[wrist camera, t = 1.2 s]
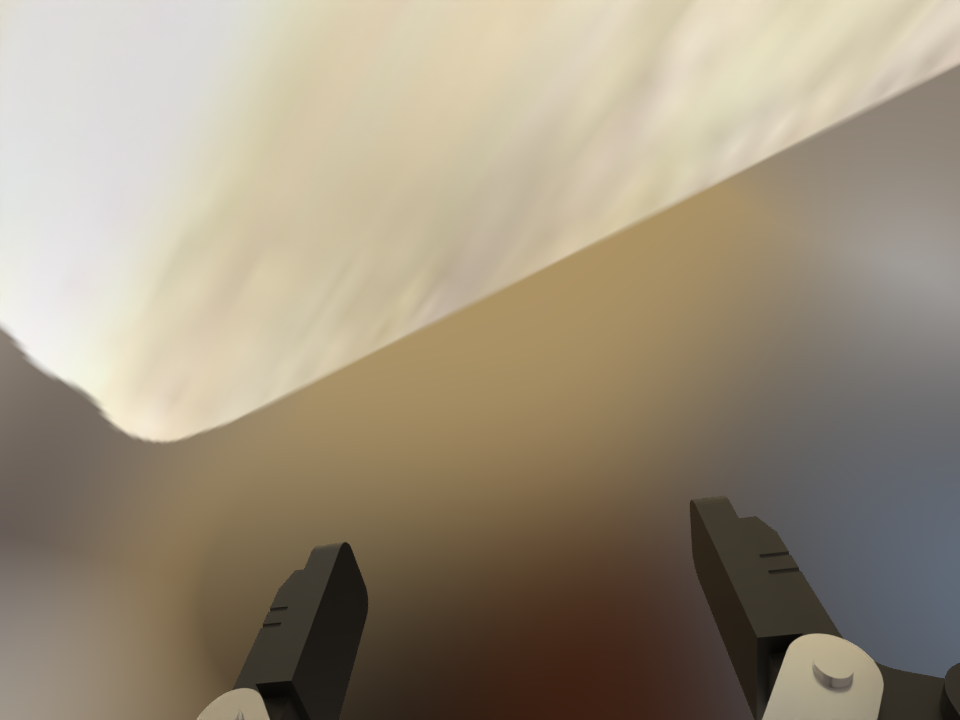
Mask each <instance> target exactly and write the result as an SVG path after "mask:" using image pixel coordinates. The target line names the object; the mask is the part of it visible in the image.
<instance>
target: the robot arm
mask: <svg viewBox="0 0 960 720" xmlns="http://www.w3.org/2000/svg"><path fill="white" fill-rule="evenodd" d="M690 521H691V539H692V554H693V560H694V566H695V570H696V573H697V577H698V580H699V582H700V585H701V587H702V590H703V592H704V594H705V597H706V600H707V602H708V605H709V607H710V610H711V612H712V615H713V617H714V620H715V622H716V625H717V627H718V630H719V633H720V635H721V637H722V640H723V643H724V645H725V647H726V650H727V652H728V655H729V658H730V660H731V663H732V665H733V668H734V670H735V673H736V675H737V677H738V680H739V683H740V685H741V688H742V690H743V693H744V695H745V698H746V700H747V703H748V705H749V707H750V710H751V713H752V715H753V718H754V720H960V663H958V664H956V665H954V666H953V667H951V668H950V669H949V670H948V672H947V674H946V676H945V679H944V678H937V677H933V676H927V675H922V674H917V673H911V672H906V671H901V670H897V669H893V668H889V667H887V666H884V665H881V664H879V663H877V662H874V661H873V660H872V659H871V657H870V656H868V655H867V654H866V653H865V652H864V651H863V650H862V649H860V648H859V647H857V646H856V645H854V644H852V643H850V642H849V641H847V640H844V639H843V637H842V636H841V634H840V633H839V632H838V630H837V628H836V627H835V625H834V624H833V622H832V620H831V619H830V617H829V616H828V614H827V612H826V611H825V609H824V608H823V606H822V604H821V603H820V601H819V600H818V598H817V596H816V595H815V593H814V591H813V590H812V588H811V587H810V585H809V584H808V582H807V580H806V579H805V577H804V575H803V574H802V572H800V571H799V568H798V566H797V564H796V563H795V561H794V559H793V558H792V556H791V555H789V551H788V550H787V548H786V547H785V545H784V543H783V542H782V540H781V539H780V537H779V535H778V534H777V532H776V531H775V530H773V529H772V528H771V527H769V526H768V525H767V524H765V523H764V522H763V521H761V520H760V519H759V518H757V517H756V516H755V517H747V518H738V516H737V514H736V512H735V510H734V509H733V507H732V505H731V503H730V502H729V500H728V498H727V497H726V496H719V497H711V498H702V499H694V500H691V501H690ZM367 613H368V595H367V589H366V586H365V583H364V581H363V578H362V575H361V573H360V570H359V567H358V565H357V562H356V559H355V557H354V554H353V551H352V549H351V547H350V545H349V544H348V543H347V542H343V543H335V544H327V545H319V546H315V548H314V549H313V550H312V552H311V554H310V557H309V559H308V562H307V564H306V566H305V568H304V570H297V571H294V573H293V574H292V575H291V576H290V577H289V579H287V580H286V582H285V583H284V584H283V585H282V586H281V587H280V588H279V590H278V592H277V595H276V597H275V599H274V601H273V603H272V605H271V607H270V612H268V614H267V616H266V618H265V620H264V623H263V628H261V629H260V631H259V633H258V636H257V638H256V640H255V642H254V644H253V647H252V649H251V651H250V653H249V655H248V657H247V660H246V662H245V664H244V666H243V669H242V670H241V673H240V675H239V677H238V679H237V681H236V683H235V686H234V688H233V690H232V691H230V692H227V693H225V694H224V695H222V696H220V697H219V698H217V699H216V700H214V701H213V702H212V703H211V704H210V705H208V706H207V708H206V709H205V710H204V711H203V712H202V713H201V714H200V716H199V717H198V718H197V720H339V718H340V714H341V711H342V707H343V703H344V700H345V696H346V692H347V688H348V684H349V681H350V677H351V673H352V670H353V666H354V662H355V658H356V655H357V651H358V647H359V644H360V640H361V636H362V632H363V629H364V624H365V621H366V617H367Z"/></svg>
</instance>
